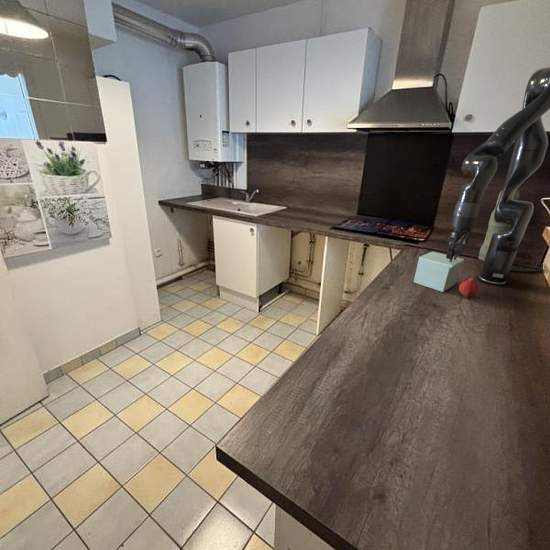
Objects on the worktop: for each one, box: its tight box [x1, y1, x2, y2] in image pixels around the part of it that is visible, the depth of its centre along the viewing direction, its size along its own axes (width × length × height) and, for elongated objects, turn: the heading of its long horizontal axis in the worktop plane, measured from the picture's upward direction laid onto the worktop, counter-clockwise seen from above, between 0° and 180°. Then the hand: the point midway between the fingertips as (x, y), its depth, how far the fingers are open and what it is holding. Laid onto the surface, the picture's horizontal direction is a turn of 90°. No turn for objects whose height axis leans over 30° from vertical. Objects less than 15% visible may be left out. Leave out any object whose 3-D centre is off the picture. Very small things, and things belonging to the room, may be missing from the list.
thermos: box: [477, 188, 520, 262], centre depth 141 cm, size 9×12×35 cm
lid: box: [418, 250, 465, 268], centre depth 114 cm, size 12×12×5 cm
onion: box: [458, 277, 479, 299], centre depth 106 cm, size 6×6×8 cm
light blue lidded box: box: [413, 258, 462, 293], centre depth 117 cm, size 12×12×10 cm
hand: (453, 256), depth 111 cm, fingers open, 8 cm apart
